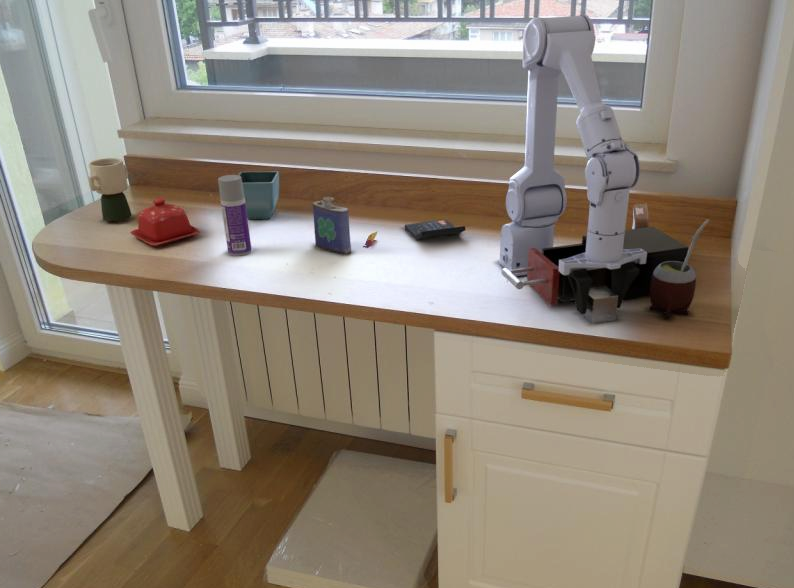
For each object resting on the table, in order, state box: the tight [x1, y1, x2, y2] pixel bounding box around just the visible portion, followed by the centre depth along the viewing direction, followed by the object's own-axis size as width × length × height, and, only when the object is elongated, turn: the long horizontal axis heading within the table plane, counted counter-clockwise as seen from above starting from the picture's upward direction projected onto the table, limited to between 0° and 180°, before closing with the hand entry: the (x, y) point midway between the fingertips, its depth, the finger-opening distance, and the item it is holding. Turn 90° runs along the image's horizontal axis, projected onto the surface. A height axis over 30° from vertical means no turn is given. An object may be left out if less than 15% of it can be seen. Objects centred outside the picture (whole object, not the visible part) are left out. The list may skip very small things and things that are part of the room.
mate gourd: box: [649, 218, 711, 320], centre depth 130 cm, size 8×8×15 cm
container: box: [217, 174, 253, 257], centre depth 158 cm, size 5×5×15 cm
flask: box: [312, 196, 352, 255], centre depth 159 cm, size 9×3×11 cm, turn 50°
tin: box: [631, 203, 650, 229], centre depth 155 cm, size 15×3×8 cm, turn 168°
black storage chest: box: [581, 226, 689, 301], centre depth 141 cm, size 14×11×8 cm
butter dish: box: [129, 197, 201, 247], centre depth 168 cm, size 12×12×8 cm
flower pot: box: [238, 170, 280, 220], centre depth 179 cm, size 9×9×9 cm
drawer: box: [501, 242, 611, 307], centre depth 138 cm, size 19×10×7 cm, turn 107°
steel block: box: [578, 286, 618, 325], centre depth 132 cm, size 4×4×4 cm
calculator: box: [404, 219, 466, 241], centre depth 168 cm, size 9×12×3 cm
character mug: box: [87, 157, 133, 223], centre depth 178 cm, size 11×7×13 cm, turn 154°
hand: (598, 308), depth 132 cm, fingers open, 6 cm apart
